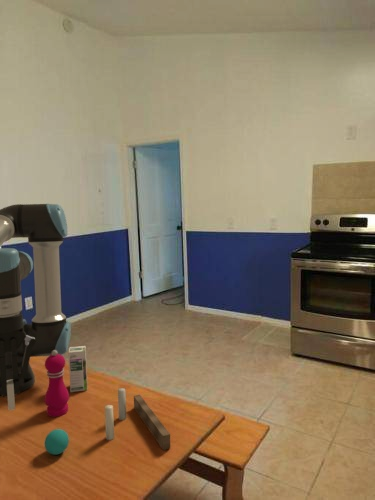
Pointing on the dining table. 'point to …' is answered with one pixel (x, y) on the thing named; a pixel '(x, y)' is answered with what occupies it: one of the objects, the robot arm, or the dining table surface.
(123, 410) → the grey pin
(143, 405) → the back wall
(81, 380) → the syrup box
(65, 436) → the ball
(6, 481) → the dining table surface
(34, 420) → the dining table surface
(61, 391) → the pepper mill
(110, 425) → the ivory pin
